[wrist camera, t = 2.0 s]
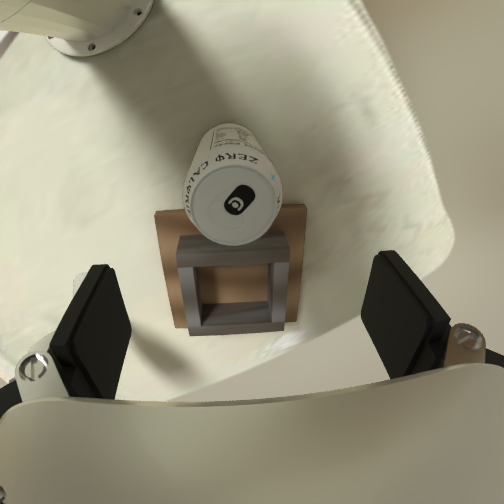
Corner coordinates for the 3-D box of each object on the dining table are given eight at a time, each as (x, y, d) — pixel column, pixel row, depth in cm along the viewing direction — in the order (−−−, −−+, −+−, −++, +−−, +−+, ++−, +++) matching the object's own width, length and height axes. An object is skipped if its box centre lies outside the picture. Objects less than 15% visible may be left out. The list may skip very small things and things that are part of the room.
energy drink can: (186, 156, 30) (158, 216, 17) (224, 110, 28) (226, 130, 15) (232, 191, 32) (240, 272, 19) (271, 147, 30) (310, 200, 17)
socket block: (156, 211, 32) (146, 232, 28) (304, 204, 33) (317, 224, 29) (176, 322, 40) (172, 350, 36) (294, 315, 41) (302, 342, 37)
